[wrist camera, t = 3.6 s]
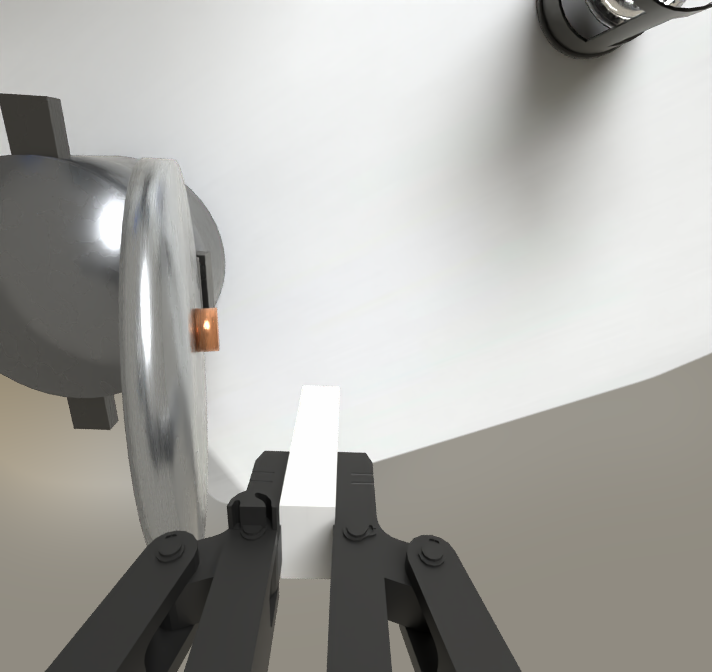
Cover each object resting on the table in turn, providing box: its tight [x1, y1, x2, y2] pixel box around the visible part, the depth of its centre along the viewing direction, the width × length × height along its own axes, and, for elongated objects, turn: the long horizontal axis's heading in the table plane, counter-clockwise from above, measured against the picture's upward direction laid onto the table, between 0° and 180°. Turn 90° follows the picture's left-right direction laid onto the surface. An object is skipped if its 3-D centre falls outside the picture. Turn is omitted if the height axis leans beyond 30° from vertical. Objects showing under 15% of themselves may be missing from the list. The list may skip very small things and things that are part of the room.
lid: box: [119, 158, 219, 546], centre depth 23 cm, size 19×20×2 cm
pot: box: [0, 93, 225, 430], centre depth 37 cm, size 25×20×12 cm
